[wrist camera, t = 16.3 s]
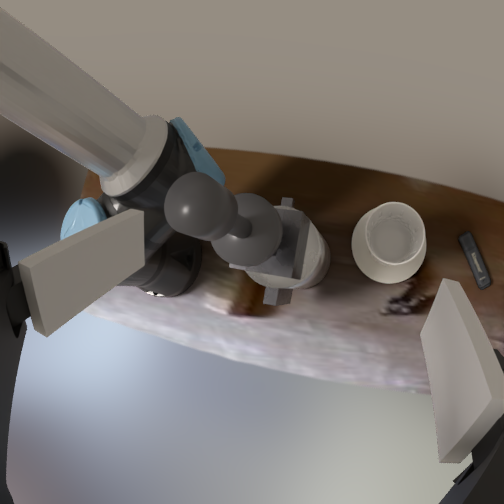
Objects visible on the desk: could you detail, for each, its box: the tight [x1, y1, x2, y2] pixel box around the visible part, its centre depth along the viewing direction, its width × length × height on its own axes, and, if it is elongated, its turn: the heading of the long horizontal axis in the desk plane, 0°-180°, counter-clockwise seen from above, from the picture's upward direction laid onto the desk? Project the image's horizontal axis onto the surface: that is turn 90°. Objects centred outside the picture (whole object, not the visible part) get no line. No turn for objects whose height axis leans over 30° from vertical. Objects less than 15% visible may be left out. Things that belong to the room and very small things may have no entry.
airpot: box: [229, 197, 331, 306], centre depth 43 cm, size 13×10×19 cm
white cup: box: [364, 202, 425, 266], centre depth 42 cm, size 8×8×10 cm
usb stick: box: [458, 231, 491, 290], centre depth 42 cm, size 10×3×2 cm, turn 22°
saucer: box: [352, 208, 426, 284], centre depth 47 cm, size 12×12×1 cm
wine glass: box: [164, 172, 283, 267], centre depth 27 cm, size 6×6×16 cm
